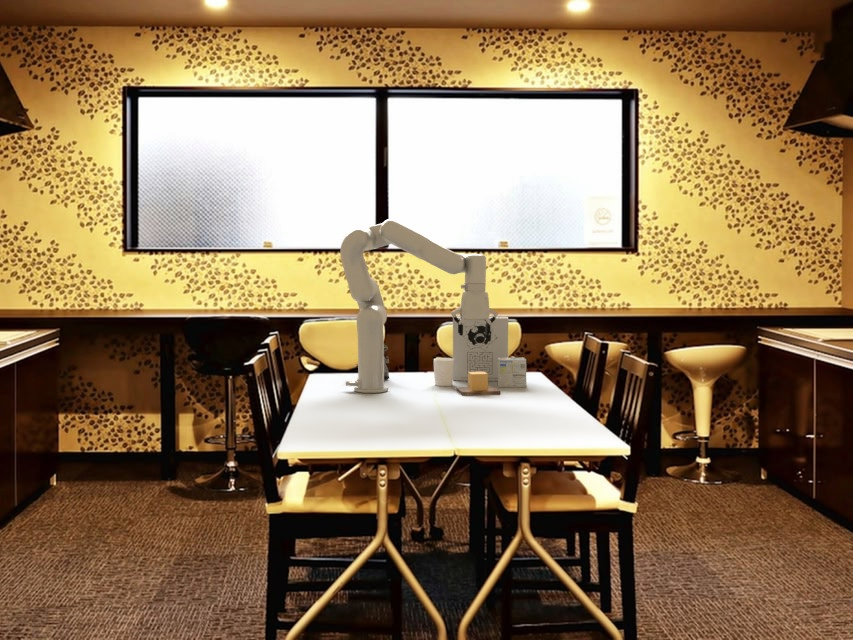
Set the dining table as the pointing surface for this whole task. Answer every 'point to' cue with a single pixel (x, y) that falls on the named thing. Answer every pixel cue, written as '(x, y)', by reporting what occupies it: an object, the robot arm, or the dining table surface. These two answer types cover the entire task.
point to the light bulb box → (511, 372)
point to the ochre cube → (477, 381)
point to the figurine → (386, 373)
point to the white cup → (443, 371)
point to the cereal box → (479, 347)
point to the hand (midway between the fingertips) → (474, 335)
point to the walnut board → (467, 391)
